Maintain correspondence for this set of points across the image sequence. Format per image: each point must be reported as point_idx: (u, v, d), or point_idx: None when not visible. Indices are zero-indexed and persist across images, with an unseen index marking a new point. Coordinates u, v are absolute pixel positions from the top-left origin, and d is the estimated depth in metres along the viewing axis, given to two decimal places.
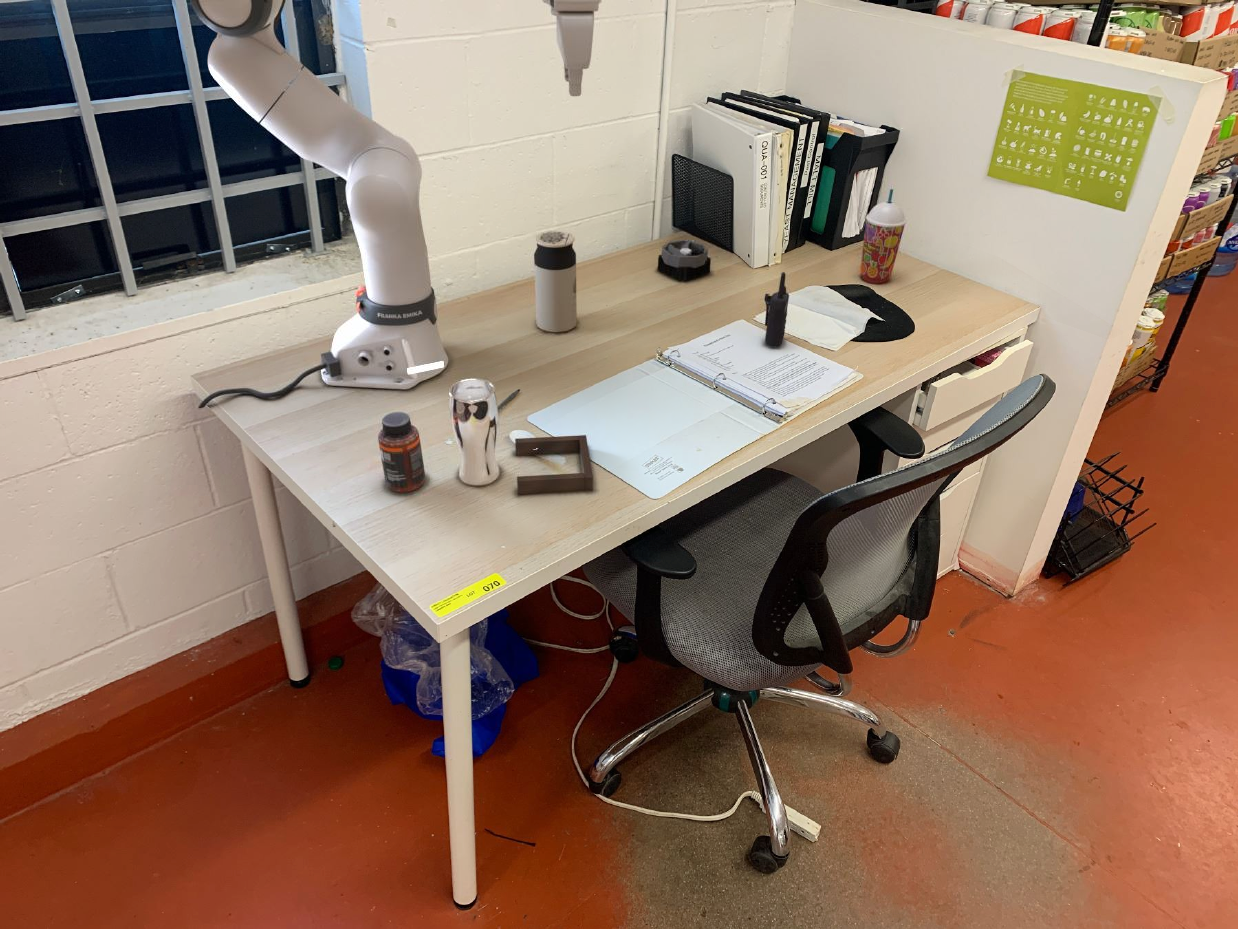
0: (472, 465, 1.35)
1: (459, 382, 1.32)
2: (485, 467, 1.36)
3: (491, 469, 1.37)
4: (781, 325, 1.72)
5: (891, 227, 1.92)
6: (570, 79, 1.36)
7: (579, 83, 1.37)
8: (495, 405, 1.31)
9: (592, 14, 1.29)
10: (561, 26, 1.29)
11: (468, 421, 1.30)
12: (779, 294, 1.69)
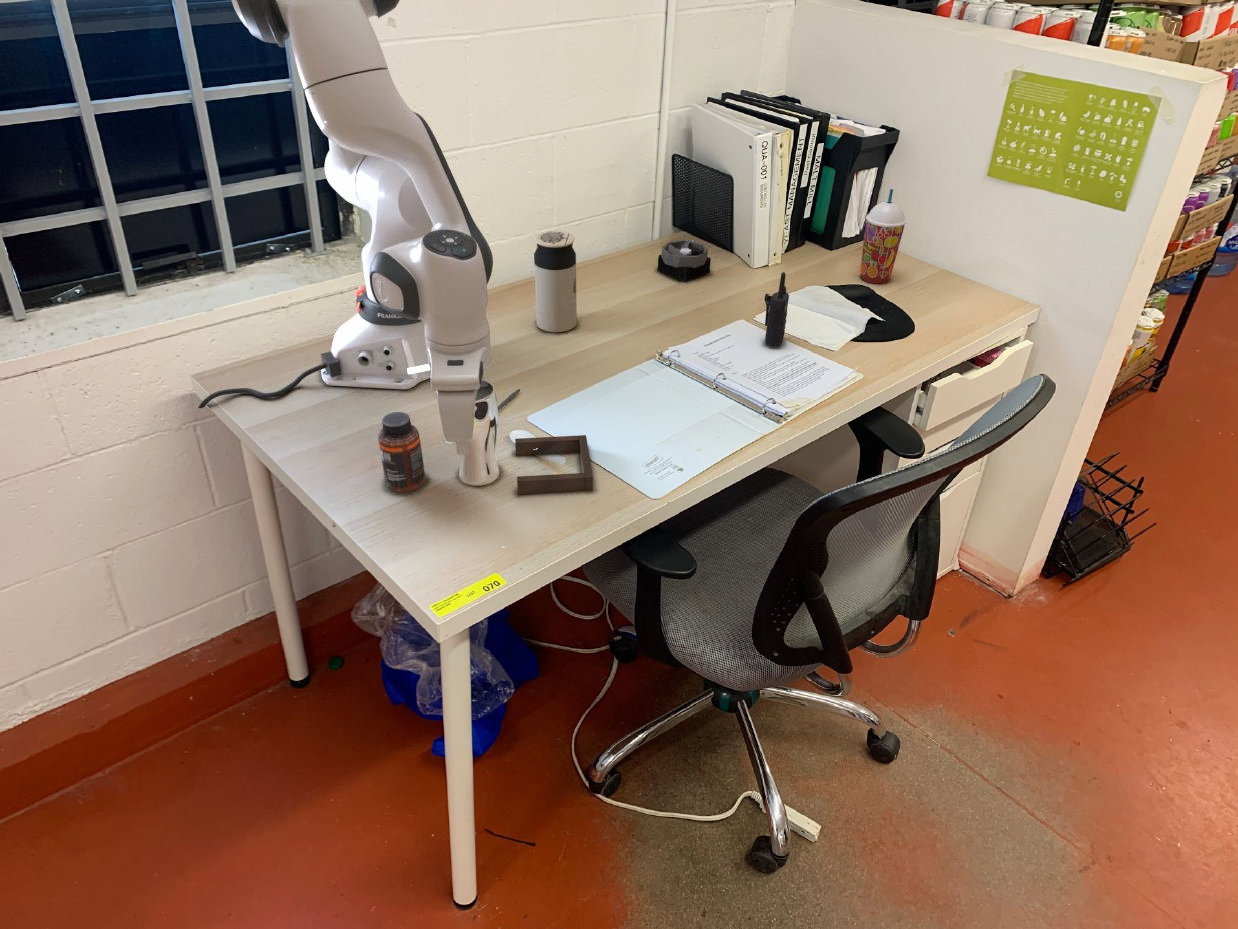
0: (472, 465, 1.35)
1: None
2: (485, 467, 1.36)
3: (491, 469, 1.37)
4: (781, 325, 1.72)
5: (891, 227, 1.92)
6: (456, 442, 1.27)
7: (466, 444, 1.28)
8: (495, 405, 1.31)
9: (473, 393, 1.21)
10: (439, 406, 1.20)
11: None
12: (779, 294, 1.69)
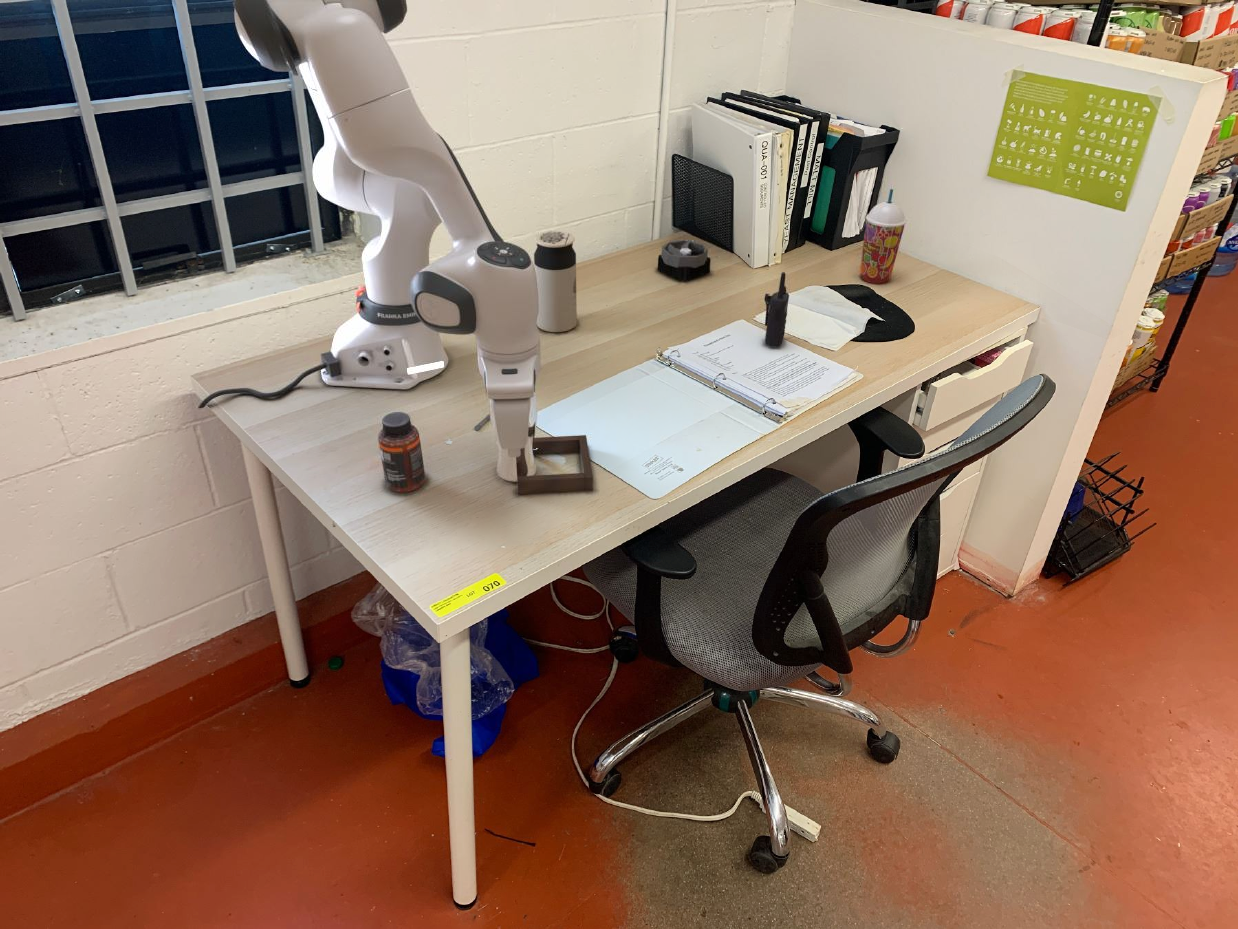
0: (510, 461, 1.35)
1: None
2: (523, 463, 1.36)
3: (529, 465, 1.37)
4: (781, 325, 1.72)
5: (891, 227, 1.92)
6: None
7: None
8: (535, 401, 1.32)
9: (528, 401, 1.23)
10: (495, 415, 1.22)
11: None
12: (779, 294, 1.69)
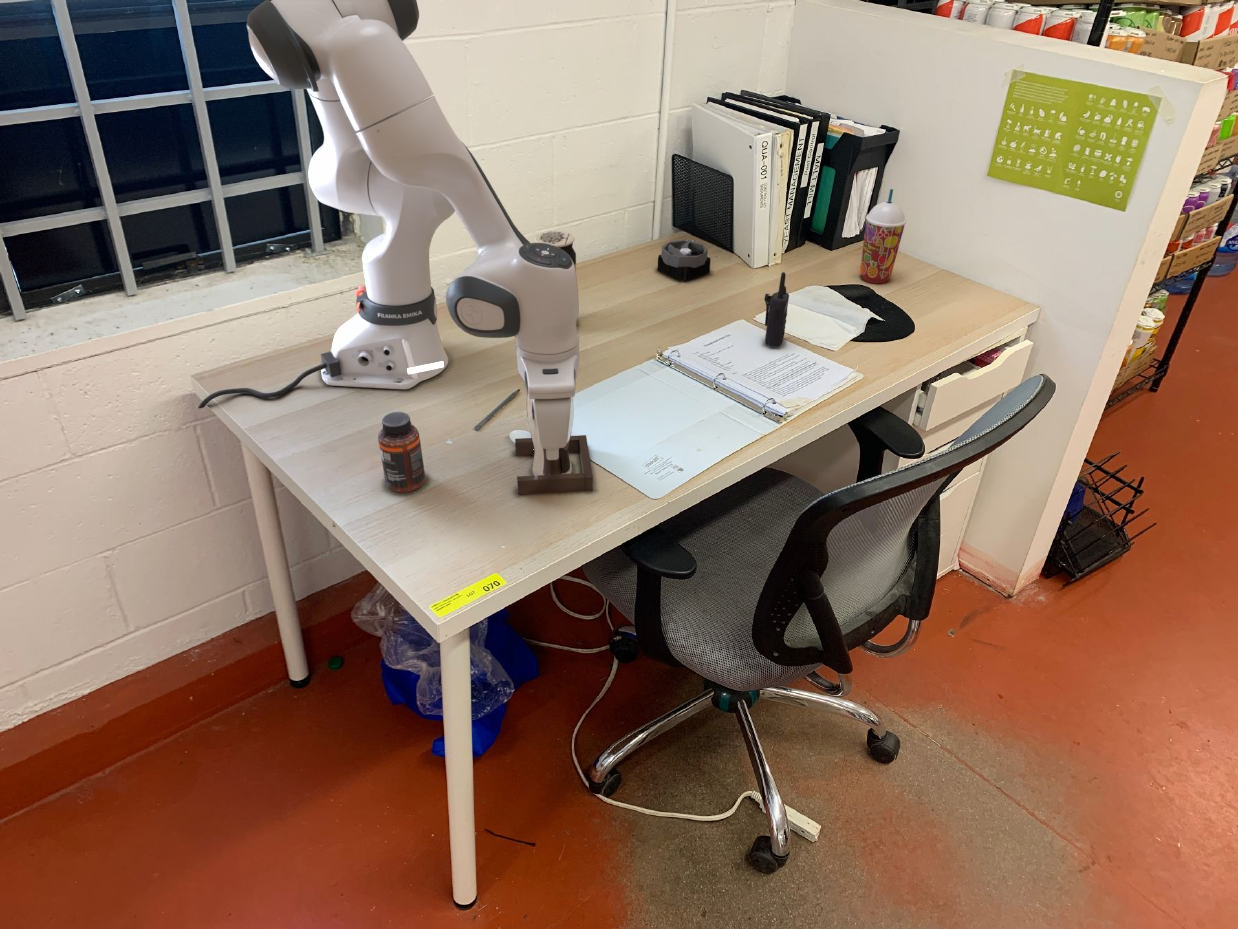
0: (547, 461, 1.36)
1: None
2: (559, 463, 1.37)
3: (565, 465, 1.38)
4: (781, 325, 1.72)
5: (891, 227, 1.92)
6: None
7: (556, 450, 1.32)
8: (572, 401, 1.32)
9: (568, 400, 1.24)
10: (536, 414, 1.23)
11: None
12: (779, 294, 1.69)
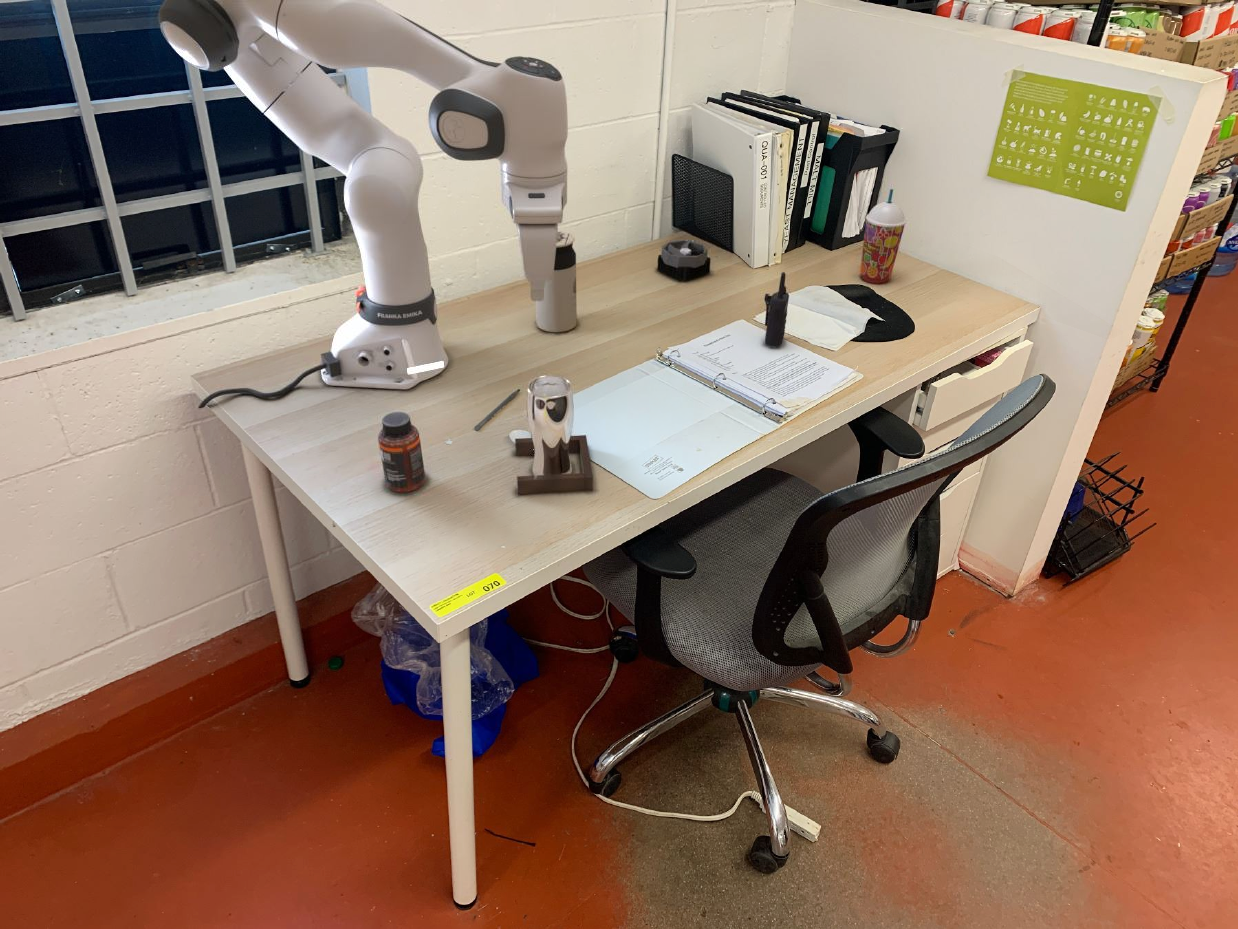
0: (547, 461, 1.36)
1: (536, 378, 1.33)
2: (560, 463, 1.37)
3: (565, 465, 1.38)
4: (781, 325, 1.72)
5: (891, 227, 1.92)
6: (531, 286, 1.24)
7: (541, 289, 1.25)
8: (572, 401, 1.32)
9: (555, 227, 1.17)
10: (521, 240, 1.17)
11: (546, 417, 1.31)
12: (779, 294, 1.69)
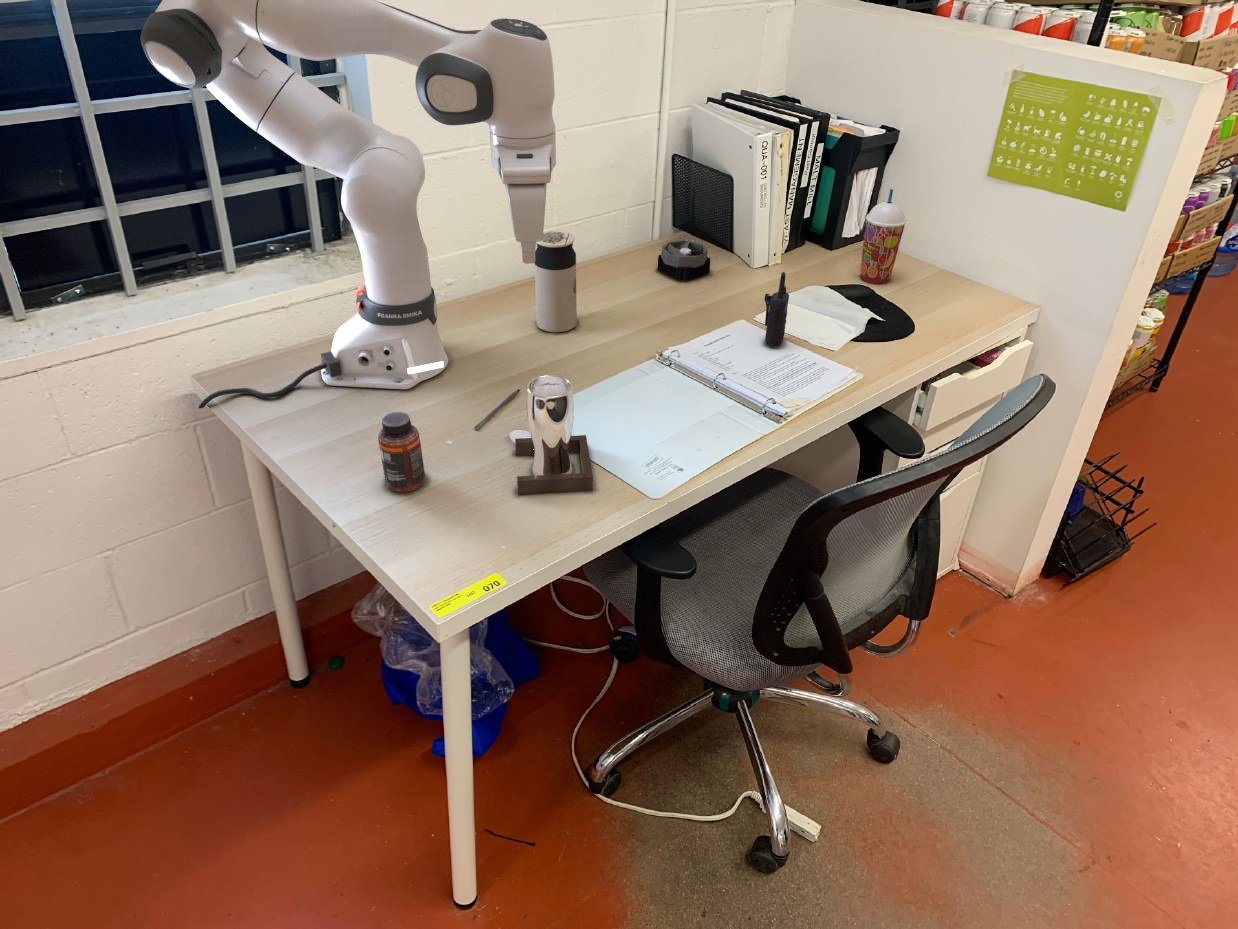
0: (547, 461, 1.36)
1: (536, 378, 1.33)
2: (560, 463, 1.37)
3: (565, 465, 1.38)
4: (781, 325, 1.72)
5: (891, 227, 1.92)
6: (523, 248, 1.25)
7: (533, 251, 1.26)
8: (572, 401, 1.32)
9: (544, 186, 1.19)
10: (510, 200, 1.18)
11: (546, 417, 1.31)
12: (779, 294, 1.69)
